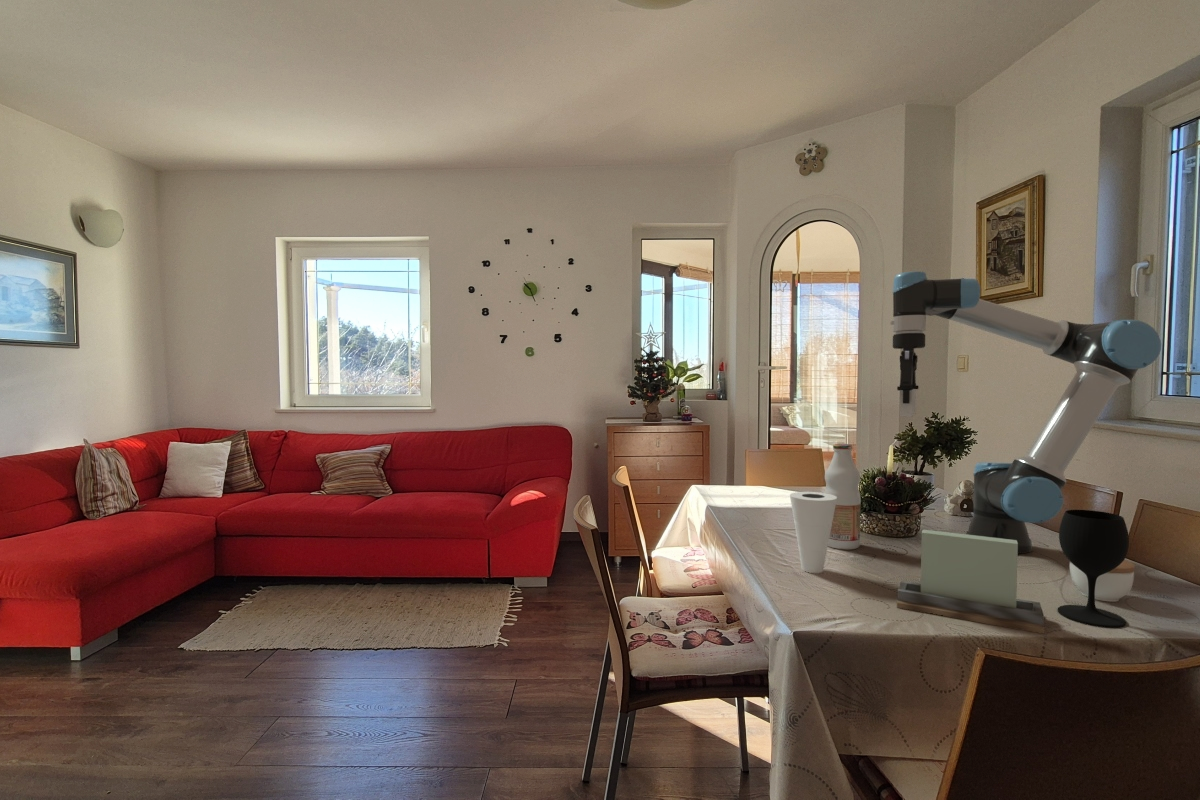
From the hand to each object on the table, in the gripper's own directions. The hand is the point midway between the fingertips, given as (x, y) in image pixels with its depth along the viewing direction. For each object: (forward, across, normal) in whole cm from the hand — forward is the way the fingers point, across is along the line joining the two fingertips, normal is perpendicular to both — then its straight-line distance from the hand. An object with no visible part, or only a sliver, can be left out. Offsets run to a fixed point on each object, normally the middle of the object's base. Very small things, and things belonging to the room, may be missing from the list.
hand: (907, 415), depth 156 cm
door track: (+36, +36, +13) cm, 53 cm away
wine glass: (+37, +28, +34) cm, 57 cm away
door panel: (+36, +36, +13) cm, 53 cm away
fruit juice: (+37, -1, -16) cm, 40 cm away
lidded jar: (+37, +13, +37) cm, 54 cm away
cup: (+37, +25, -19) cm, 48 cm away
